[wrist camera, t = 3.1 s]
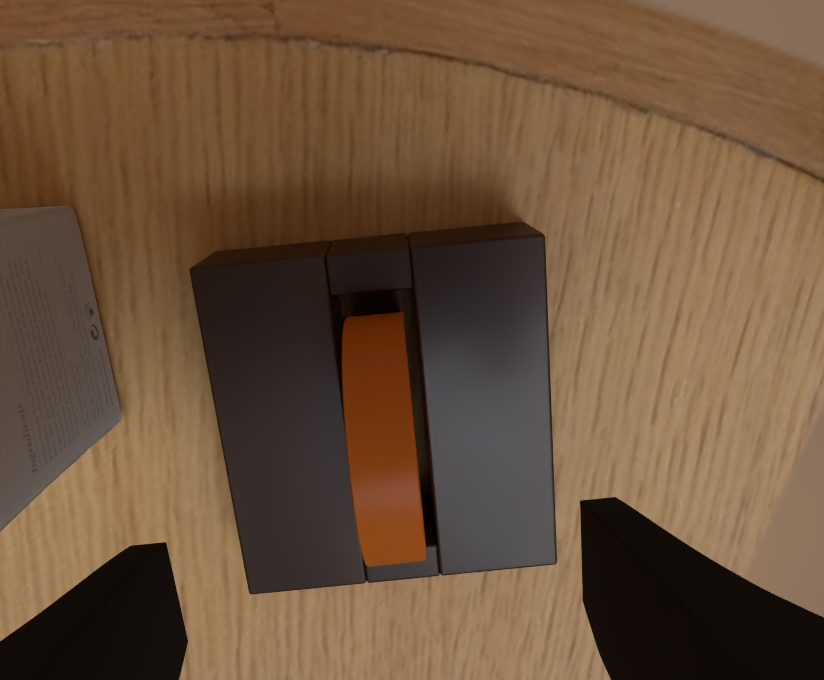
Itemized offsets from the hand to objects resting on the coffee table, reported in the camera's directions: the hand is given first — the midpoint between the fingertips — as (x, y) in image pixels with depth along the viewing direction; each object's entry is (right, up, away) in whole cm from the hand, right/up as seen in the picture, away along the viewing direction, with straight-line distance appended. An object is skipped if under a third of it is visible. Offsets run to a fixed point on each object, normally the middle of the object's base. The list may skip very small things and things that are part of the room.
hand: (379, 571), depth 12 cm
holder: (0, +2, +8) cm, 8 cm away
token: (0, +2, +8) cm, 8 cm away
